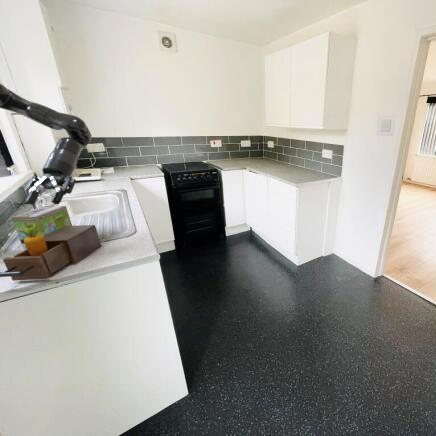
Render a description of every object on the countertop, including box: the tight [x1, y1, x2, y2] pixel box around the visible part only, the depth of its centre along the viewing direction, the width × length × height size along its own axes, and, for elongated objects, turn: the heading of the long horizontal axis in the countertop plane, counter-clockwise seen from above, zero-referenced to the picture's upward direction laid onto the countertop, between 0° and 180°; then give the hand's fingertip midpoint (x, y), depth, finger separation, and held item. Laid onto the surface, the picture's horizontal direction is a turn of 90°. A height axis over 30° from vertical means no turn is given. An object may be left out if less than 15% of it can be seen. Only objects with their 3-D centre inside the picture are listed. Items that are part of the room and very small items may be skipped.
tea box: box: [11, 205, 73, 251], centre depth 103 cm, size 15×10×15 cm, turn 9°
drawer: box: [0, 242, 72, 282], centre depth 81 cm, size 18×10×8 cm, turn 4°
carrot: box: [19, 225, 48, 256], centre depth 81 cm, size 5×5×15 cm
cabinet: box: [43, 224, 102, 265], centre depth 93 cm, size 15×12×10 cm
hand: (42, 203), depth 82 cm, fingers open, 8 cm apart
